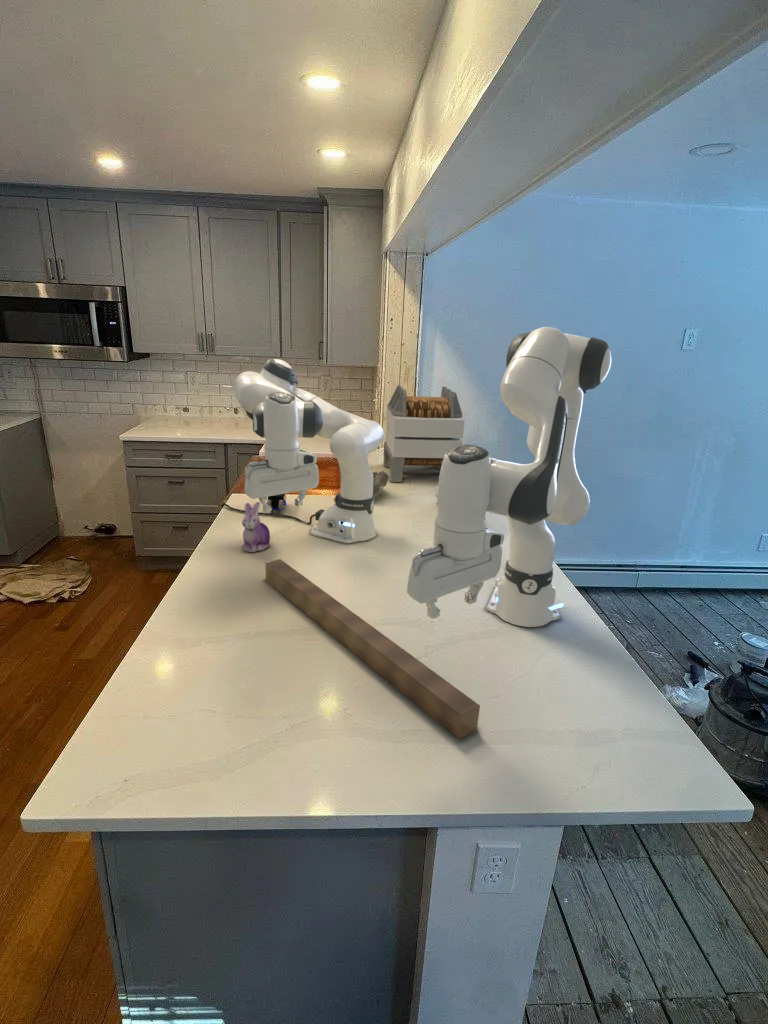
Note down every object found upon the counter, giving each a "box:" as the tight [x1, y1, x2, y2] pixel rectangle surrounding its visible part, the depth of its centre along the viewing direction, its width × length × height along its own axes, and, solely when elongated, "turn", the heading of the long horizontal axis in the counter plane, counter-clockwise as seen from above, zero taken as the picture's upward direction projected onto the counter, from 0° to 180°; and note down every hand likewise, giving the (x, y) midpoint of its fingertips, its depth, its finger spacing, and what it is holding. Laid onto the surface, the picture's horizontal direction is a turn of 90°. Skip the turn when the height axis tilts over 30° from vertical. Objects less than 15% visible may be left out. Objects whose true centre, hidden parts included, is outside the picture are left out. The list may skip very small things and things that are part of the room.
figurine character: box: [266, 493, 287, 514], centre depth 218 cm, size 7×8×15 cm
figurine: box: [241, 501, 271, 553], centre depth 181 cm, size 9×10×15 cm
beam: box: [264, 558, 481, 741], centre depth 134 cm, size 78×5×6 cm, turn 38°
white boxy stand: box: [383, 384, 465, 483], centre depth 268 cm, size 34×33×41 cm
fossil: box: [372, 470, 389, 498], centre depth 237 cm, size 22×10×15 cm
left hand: (283, 508), depth 150 cm, fingers open, 8 cm apart
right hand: (452, 609), depth 103 cm, fingers open, 8 cm apart
